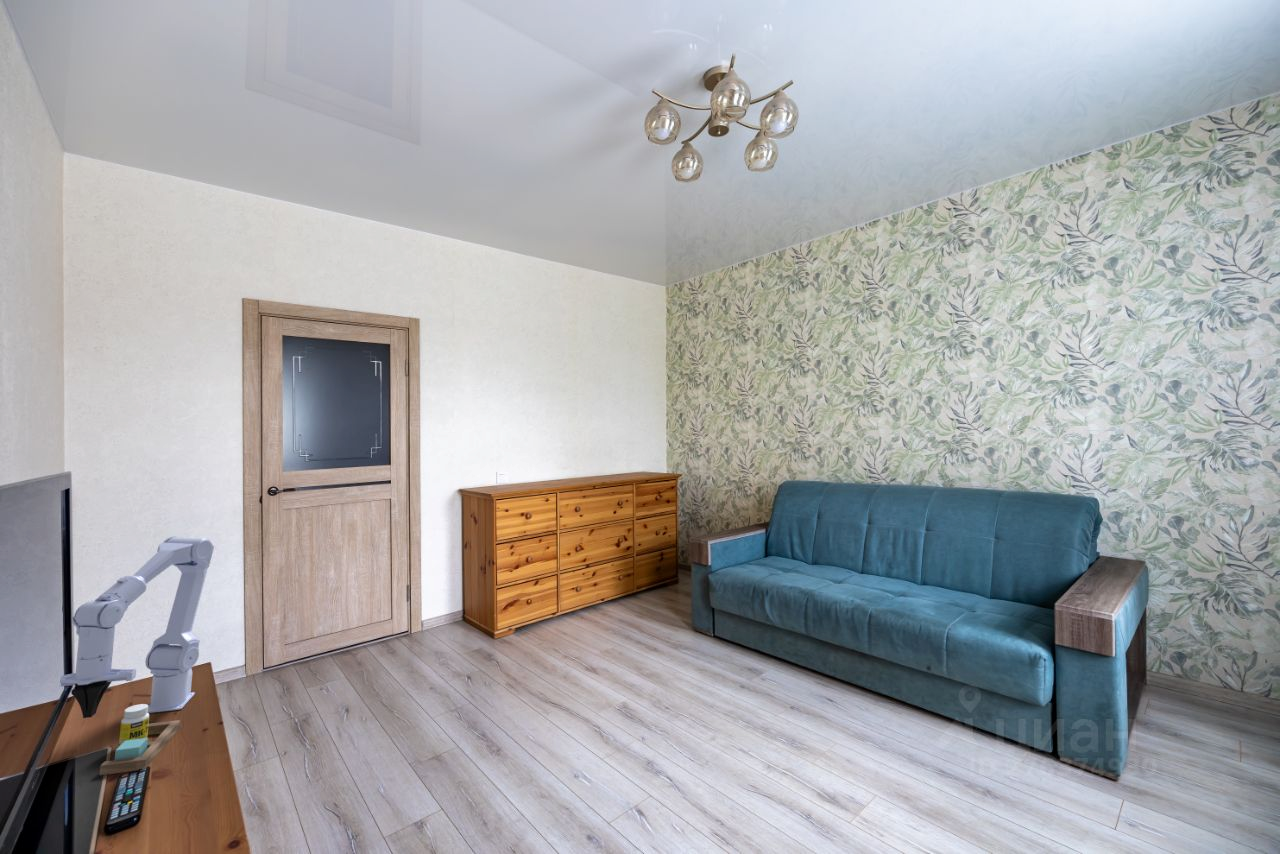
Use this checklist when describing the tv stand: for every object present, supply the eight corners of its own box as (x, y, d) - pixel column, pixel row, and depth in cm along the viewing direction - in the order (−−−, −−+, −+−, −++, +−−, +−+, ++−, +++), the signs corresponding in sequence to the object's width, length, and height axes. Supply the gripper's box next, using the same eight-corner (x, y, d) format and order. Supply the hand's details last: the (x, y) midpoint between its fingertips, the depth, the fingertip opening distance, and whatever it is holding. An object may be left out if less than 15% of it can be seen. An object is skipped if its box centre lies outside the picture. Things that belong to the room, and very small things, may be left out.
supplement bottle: (127, 752, 119) (130, 714, 120) (113, 748, 121) (116, 710, 121) (152, 741, 124) (155, 704, 124) (138, 737, 125) (141, 701, 126)
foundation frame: (140, 733, 127) (141, 724, 127) (179, 728, 130) (180, 720, 130) (99, 775, 111) (100, 765, 111) (145, 769, 114) (145, 759, 114)
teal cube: (123, 759, 117) (125, 740, 117) (146, 755, 119) (148, 737, 119) (113, 769, 113) (115, 750, 114) (137, 766, 115) (139, 747, 115)
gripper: (40, 665, 114) (34, 729, 113) (127, 658, 119) (121, 719, 119) (60, 652, 120) (55, 713, 120) (142, 646, 126) (137, 704, 125)
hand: (89, 715), depth 120 cm, fingers closed
